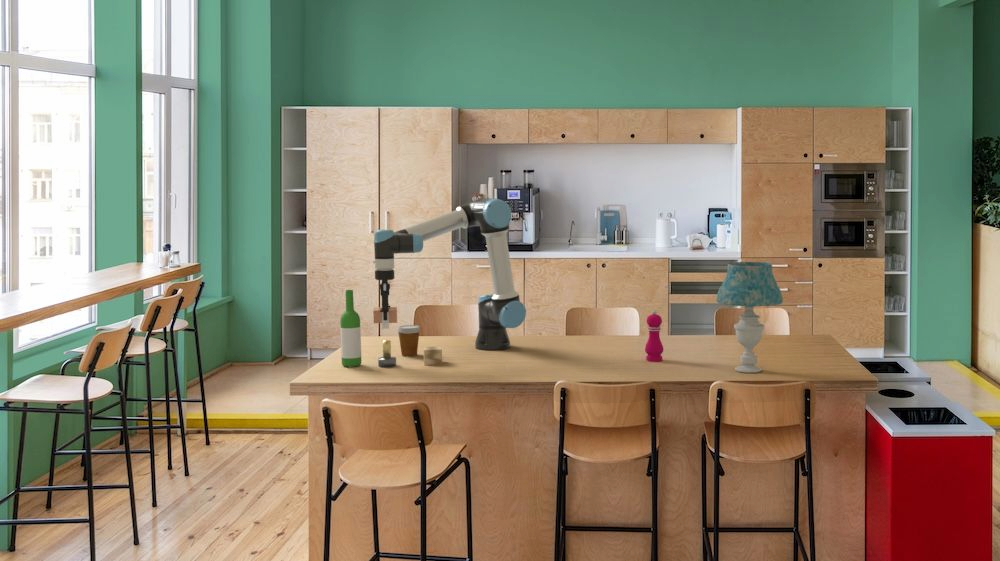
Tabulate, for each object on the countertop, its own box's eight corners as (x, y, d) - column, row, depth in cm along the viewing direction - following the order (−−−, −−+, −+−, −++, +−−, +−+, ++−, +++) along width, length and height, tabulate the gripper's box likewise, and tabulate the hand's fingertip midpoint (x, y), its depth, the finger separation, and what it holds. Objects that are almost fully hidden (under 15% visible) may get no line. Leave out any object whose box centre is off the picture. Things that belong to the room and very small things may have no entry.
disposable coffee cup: (417, 357, 405) (416, 328, 404) (394, 357, 407) (394, 328, 406) (423, 353, 414) (422, 325, 413) (401, 352, 416) (401, 324, 415)
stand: (441, 361, 396) (441, 346, 396) (442, 364, 390) (441, 349, 389) (423, 361, 396) (423, 347, 395) (424, 365, 389) (424, 350, 388)
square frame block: (396, 319, 392) (396, 306, 391) (397, 322, 383) (396, 310, 382) (374, 320, 391) (373, 307, 390) (373, 323, 382) (373, 310, 381)
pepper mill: (664, 359, 393) (665, 309, 391) (661, 362, 386) (661, 312, 384) (646, 358, 395) (646, 308, 393) (643, 361, 389) (643, 311, 387)
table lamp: (793, 375, 359) (795, 265, 355) (732, 379, 354) (733, 268, 350) (763, 363, 382) (764, 260, 378) (705, 366, 377) (706, 262, 373)
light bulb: (396, 363, 393) (395, 338, 392) (396, 367, 386) (395, 341, 385) (378, 364, 392) (377, 339, 391) (378, 367, 385) (377, 342, 384)
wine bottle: (345, 368, 385) (342, 291, 382) (339, 365, 392) (336, 289, 389) (364, 366, 389) (362, 290, 385) (357, 363, 396) (355, 288, 392)
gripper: (375, 267, 395) (376, 322, 397) (374, 272, 373) (375, 331, 376) (394, 266, 396) (395, 322, 398) (394, 271, 374) (395, 330, 377)
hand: (385, 326), depth 387 cm, fingers closed on square frame block, 9 cm apart
